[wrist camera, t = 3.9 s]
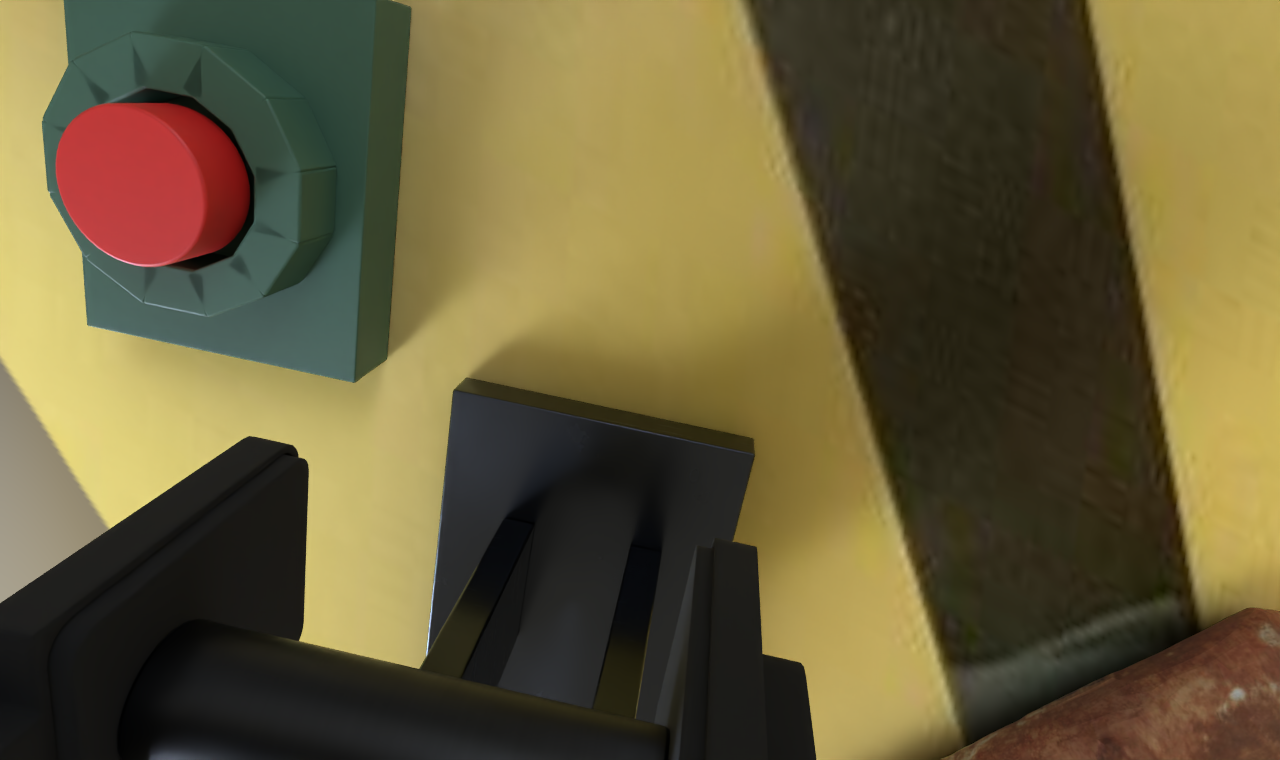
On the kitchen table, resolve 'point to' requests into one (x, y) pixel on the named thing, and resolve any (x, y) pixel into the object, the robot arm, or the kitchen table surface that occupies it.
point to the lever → (347, 709)
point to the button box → (258, 170)
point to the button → (152, 182)
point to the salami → (1164, 705)
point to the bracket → (572, 543)
